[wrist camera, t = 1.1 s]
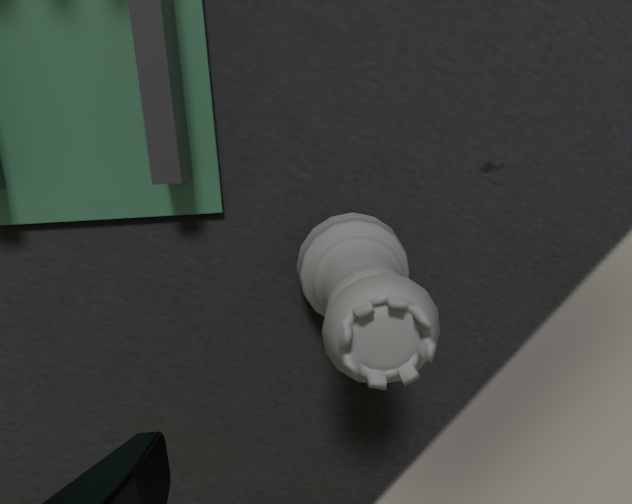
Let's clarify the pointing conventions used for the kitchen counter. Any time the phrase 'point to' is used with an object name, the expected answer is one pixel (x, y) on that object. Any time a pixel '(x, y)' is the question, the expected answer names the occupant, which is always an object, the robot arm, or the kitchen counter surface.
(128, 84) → the header socket
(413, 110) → the kitchen counter surface
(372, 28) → the kitchen counter surface
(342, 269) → the rook chess piece
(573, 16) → the kitchen counter surface
